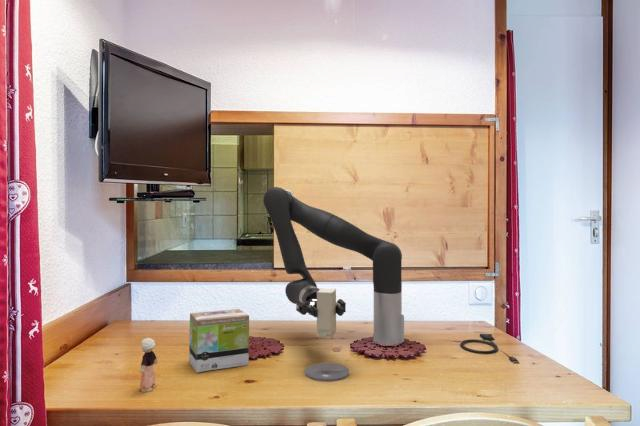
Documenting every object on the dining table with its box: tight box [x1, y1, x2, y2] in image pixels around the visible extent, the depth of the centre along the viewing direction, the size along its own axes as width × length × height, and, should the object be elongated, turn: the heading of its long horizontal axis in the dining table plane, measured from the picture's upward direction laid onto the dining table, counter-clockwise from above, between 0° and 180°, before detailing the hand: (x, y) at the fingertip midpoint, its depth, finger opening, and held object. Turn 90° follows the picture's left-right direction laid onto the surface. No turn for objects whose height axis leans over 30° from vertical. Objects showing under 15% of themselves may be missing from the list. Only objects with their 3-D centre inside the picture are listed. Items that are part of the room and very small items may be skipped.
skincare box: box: [316, 288, 337, 339], centre depth 125 cm, size 6×4×12 cm
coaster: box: [304, 362, 350, 382], centre depth 125 cm, size 12×12×1 cm
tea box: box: [188, 308, 250, 374], centre depth 132 cm, size 15×10×15 cm
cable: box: [459, 333, 520, 364], centre depth 147 cm, size 14×28×2 cm, turn 176°
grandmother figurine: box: [139, 337, 158, 393], centre depth 114 cm, size 8×4×13 cm, turn 5°
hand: (329, 312), depth 123 cm, fingers closed on skincare box, 6 cm apart
